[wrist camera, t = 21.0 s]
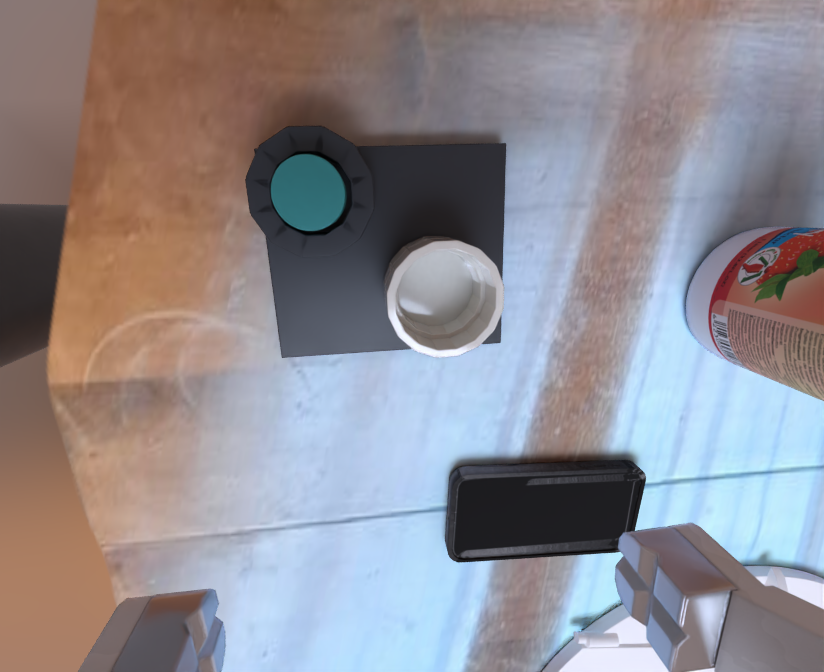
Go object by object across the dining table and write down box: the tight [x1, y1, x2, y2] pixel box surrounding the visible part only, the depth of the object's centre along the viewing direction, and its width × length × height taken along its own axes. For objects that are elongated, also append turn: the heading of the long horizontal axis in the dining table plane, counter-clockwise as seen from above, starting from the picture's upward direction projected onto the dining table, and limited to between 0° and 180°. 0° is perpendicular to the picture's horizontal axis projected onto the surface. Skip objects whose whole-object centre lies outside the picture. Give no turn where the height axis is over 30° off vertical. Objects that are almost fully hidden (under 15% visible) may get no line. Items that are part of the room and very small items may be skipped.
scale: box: [245, 126, 506, 358], centre depth 25 cm, size 14×13×3 cm
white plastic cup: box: [383, 236, 504, 358], centre depth 24 cm, size 6×6×4 cm
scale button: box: [271, 154, 347, 231], centre depth 21 cm, size 4×4×2 cm
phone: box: [445, 460, 646, 562], centre depth 32 cm, size 8×1×15 cm
